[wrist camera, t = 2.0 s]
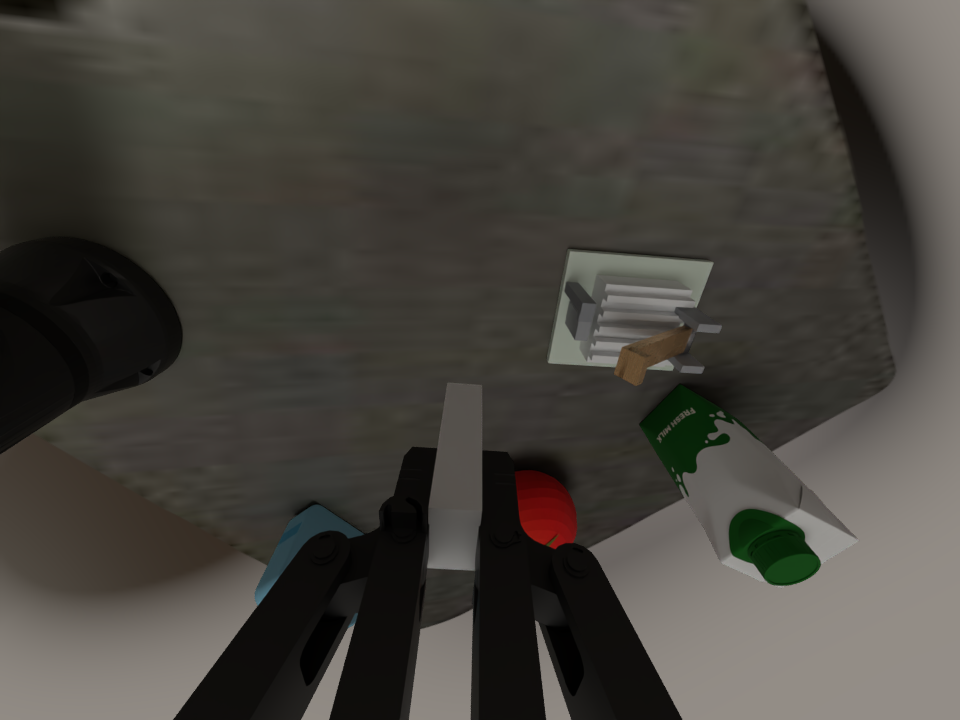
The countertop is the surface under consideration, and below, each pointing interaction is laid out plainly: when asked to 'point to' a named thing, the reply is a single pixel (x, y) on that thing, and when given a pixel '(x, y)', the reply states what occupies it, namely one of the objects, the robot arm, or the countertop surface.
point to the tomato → (545, 508)
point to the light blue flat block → (301, 543)
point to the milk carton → (743, 492)
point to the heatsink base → (619, 267)
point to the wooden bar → (652, 352)
